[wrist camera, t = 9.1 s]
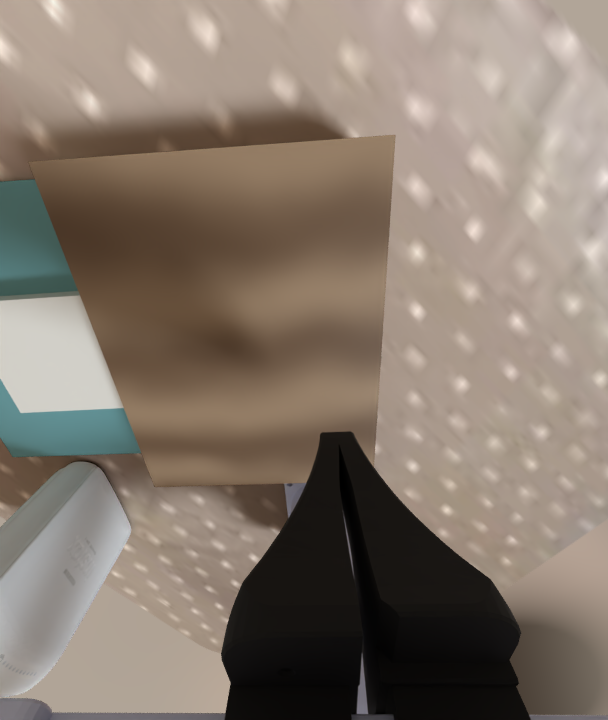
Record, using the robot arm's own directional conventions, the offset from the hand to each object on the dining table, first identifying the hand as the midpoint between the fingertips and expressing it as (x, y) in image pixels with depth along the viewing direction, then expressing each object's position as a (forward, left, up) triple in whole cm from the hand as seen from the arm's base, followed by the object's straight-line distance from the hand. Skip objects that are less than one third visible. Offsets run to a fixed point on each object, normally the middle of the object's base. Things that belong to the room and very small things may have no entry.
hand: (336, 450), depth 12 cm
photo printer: (-14, +22, -10) cm, 28 cm away
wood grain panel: (+2, +5, -9) cm, 11 cm away
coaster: (+2, +18, -9) cm, 20 cm away
